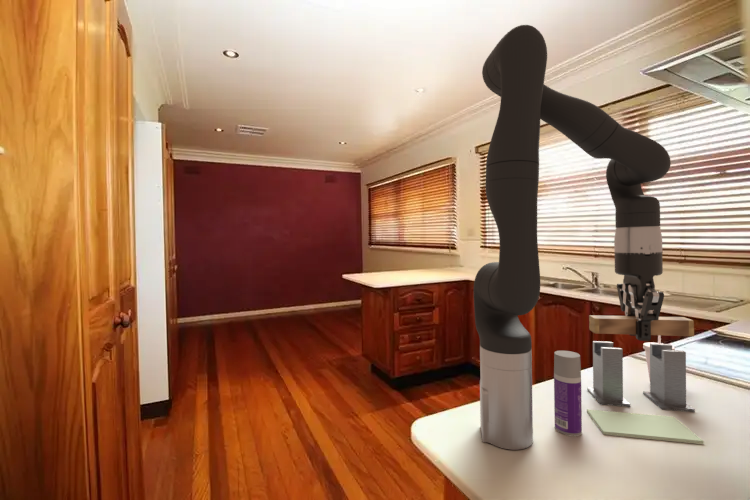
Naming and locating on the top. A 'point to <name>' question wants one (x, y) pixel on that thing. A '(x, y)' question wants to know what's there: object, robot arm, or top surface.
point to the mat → (643, 426)
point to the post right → (668, 378)
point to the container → (567, 393)
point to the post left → (607, 374)
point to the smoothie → (647, 351)
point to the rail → (628, 325)
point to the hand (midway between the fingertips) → (638, 337)
